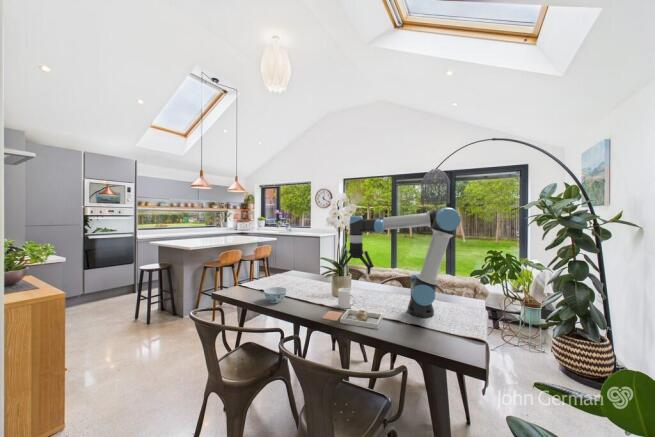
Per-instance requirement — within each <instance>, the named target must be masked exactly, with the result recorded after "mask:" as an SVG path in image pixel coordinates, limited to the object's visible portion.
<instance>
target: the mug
mask: <svg viewBox="0 0 655 437" xmlns="http://www.w3.org/2000/svg"><path fill="white" fill-rule="evenodd" d="M337 297H338V298H337V299H338V300H337V302H338V304H337V306H338V307H339V308H340V309H345V308H346V309H350V308H351V307H354V305H355V304H356V298H355V296H354V294H353V291H352V288H349V287H340V288H339V289H338V290H337ZM352 298H353V301H354V302H353V301H352Z"/></svg>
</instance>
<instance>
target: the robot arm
mask: <svg viewBox="0 0 655 437" xmlns="http://www.w3.org/2000/svg"><path fill="white" fill-rule="evenodd" d="M461 219H462V217H461V215H460V213H459V211H457V210H456V209H455V208H452V207H449V206H448V207H442V208H441V207H440V208H438V209H434V210H427V211H426V212H424V213H422V212H421V213H415V214H414V213H413V214H404V215H403V214H402V215H397V216H396V215H395V216H394V215H393V216H387V217H385V216H384V217H375V218H372V219H369V218H368V219H367V218H366V219H364V218H363V216H362V215H351V216H350V217H349V250H348V249H345V250H344V253H343V256H342V257H341V259H340V261H339V264H338V265H339V266H341V267H342V271H341V272H342V273H343V278H344V279H346V278H347V275H348V273H347V272H348V270H347V269H348V268H347V267H348V266H347V264H348V263H349V262H350V261H351V259H359V260H361V262H362V263H363V265H364V266H365V267H366V270H365V274H366V275H365V279H366V281H368V280H369V279H370V278H369V276H370V275H371V269H373V268H374V262H373V261H372V260H371V258H370V254H369V251H368V250H366V251H364V250H363V248H364V247H363V238H364V237H363V236H364V235H363V234H364V233H377V234H378V233H379V234H380V233H383V232H384V230H396V229H406V228H417V227H428V228H431V231H432V236H431V240H430V242H429V245H428V247H427V248H428V249H427V252H426V255H425V258H424V261H423V264H422V267H421V270H420V273H413V274H411V275H410V299H409V302H408V305H407V313H408V314H409V315H411V316H414V317H416V318H417V317H418V318H430V317H433V316H434V315H435V310H434V306H433V303H434V301H435V300H436V290H437V288H438V284H439V283H438V281H437V279H438V275H439V272H440V270H441V269H440V268H441V266H442V263H443V260H444V256H445V253H446V252H447V247H448V245H449V243H450V242H449V241H450V239H451V238H453V237H454V236H455V233H456V230H457V228H458V227H459V226H460V225H461V222H462V220H461ZM348 254H349V256H348ZM363 255H364V256H363ZM347 256H348V258H347ZM364 257H365V258H364ZM346 258H347V259H346Z"/></svg>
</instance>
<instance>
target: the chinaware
mask: <svg viewBox="0 0 655 437" xmlns="http://www.w3.org/2000/svg"><path fill="white" fill-rule="evenodd" d="M263 293H264V296H265V299H266V300H268V301H269V303H271V304H278V303H280V302H281V301H282V300H283V299H284V298H285V296H286V295H287V288H285V287H281V286H274V287H268V288H265V289H264V290H263Z"/></svg>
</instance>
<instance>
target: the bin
mask: <svg viewBox="0 0 655 437" xmlns="http://www.w3.org/2000/svg"><path fill="white" fill-rule="evenodd" d="M358 310H359V309H350V308H347V310H346V311H345V312H343V314H342V315H341V316H340V318H339V323H340V324H345V325H351V326H358V327H364V328H371V329H377V330H379V328H380V325H381V323H382V321H383V319H384V314H383V313H379V312H374V311H373V312H371V311H367V318H368V317H369V318H375V319H378V320H377V322H369V321H366V322H364V321H358V320H356V319H351V318H347V317H348V316H349V315H355V316H356V313H357V311H358Z"/></svg>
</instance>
